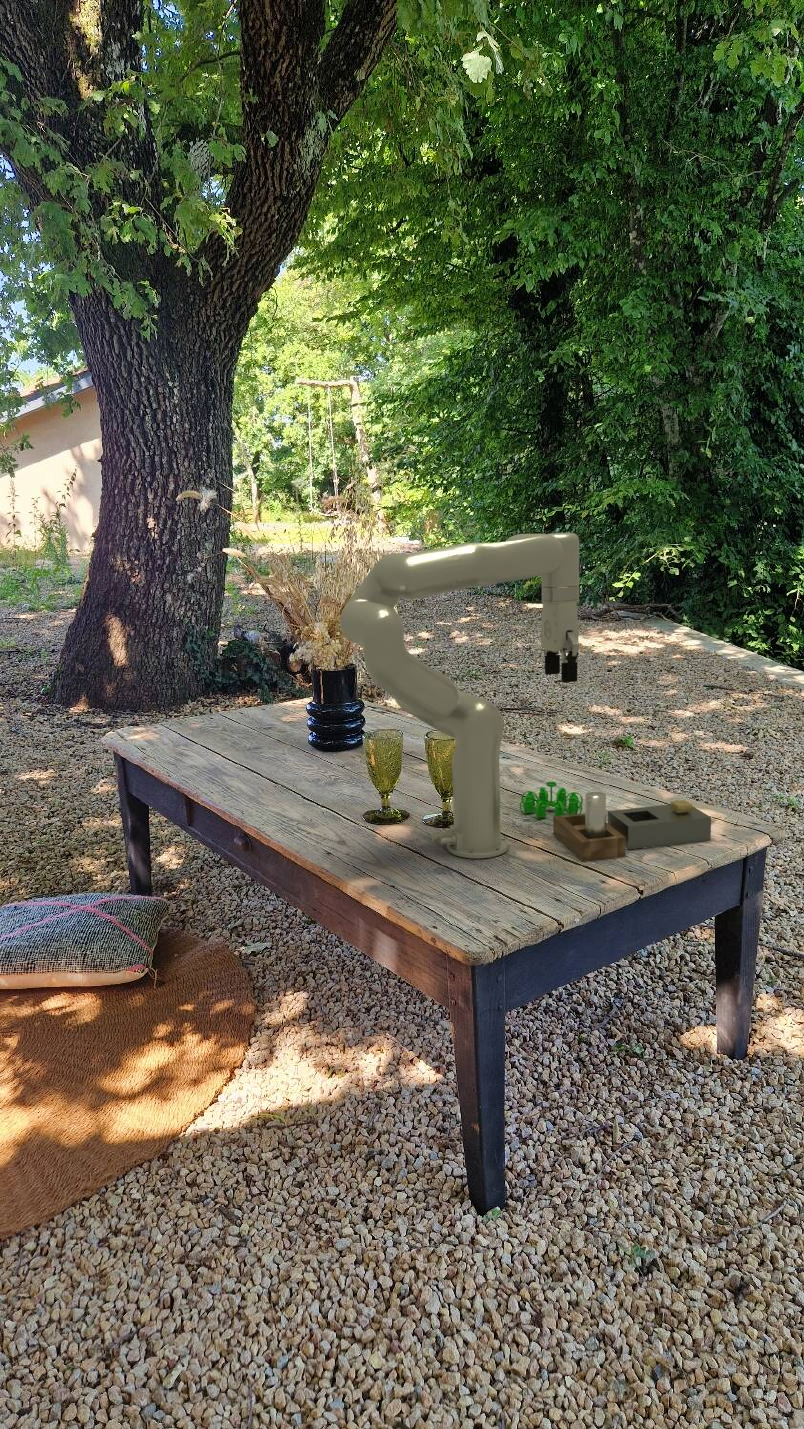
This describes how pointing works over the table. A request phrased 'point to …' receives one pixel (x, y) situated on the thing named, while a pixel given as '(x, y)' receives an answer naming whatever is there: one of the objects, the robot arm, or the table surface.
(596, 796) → the grey tall cylinder
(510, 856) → the table surface
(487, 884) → the table surface
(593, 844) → the frame
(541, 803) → the chandelier
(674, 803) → the release key
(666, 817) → the socket block
